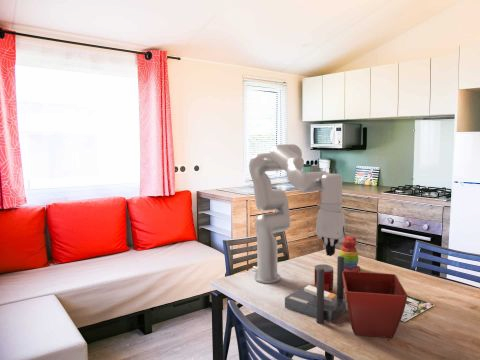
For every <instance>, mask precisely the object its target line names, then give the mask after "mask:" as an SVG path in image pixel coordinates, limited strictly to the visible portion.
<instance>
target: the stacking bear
mask: <svg viewBox="0 0 480 360" xmlns="http://www.w3.org/2000/svg"><path fill="white" fill-rule="evenodd" d="M344 238H345V241H344V242H341V243H342V247H341V249H340V251H339V254H338V256H342V257H344V271H352V272H361V267H360V265H358V264H359V253H358V250H357V247H356V244H357V238H356V236H351V235H348V236H347V235H345V236H344Z"/></svg>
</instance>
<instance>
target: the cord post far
mask: <svg viewBox="0 0 480 360" xmlns="http://www.w3.org/2000/svg"><path fill="white" fill-rule="evenodd" d="M336 266H337V268H336V269H337V270H336V271H337V272H336V295H337V298H341V299H344V297H345V291H344V285H343V277H342V272H343V271H344V257H342V256H339V255H338V256H337V263H336ZM344 300H345V299H344Z"/></svg>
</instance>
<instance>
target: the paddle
mask: <svg viewBox="0 0 480 360" xmlns="http://www.w3.org/2000/svg"><path fill="white" fill-rule="evenodd" d="M314 286H315V285H310V284H308V285H307V286H305V287H303V288H304V291H305V292H308V293H311V294H313V295H316V296H317V288H316V287H314ZM336 298H337V293H334V292H332V293H329V292H327V291H324V299H326V300H328V301H331V302H332V301H334V300H335V299H336Z"/></svg>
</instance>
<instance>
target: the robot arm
mask: <svg viewBox="0 0 480 360" xmlns="http://www.w3.org/2000/svg"><path fill="white" fill-rule="evenodd" d="M302 153H303V152H302V149H301V148H300V147H299V146H298V145H296V144H294V143H293V144H292V143H291V144H276V145H274V146H272V147H271V149H270V150H269V152H267V153H266V152H265V153H257V154H254V155H252V156H251V158H250V160H249V163H248V169H249V174H250V177H251V180H252V185H253V195H254V201H255V207H256V209H257V210H258V211H262V212H263V211H264V212H266V211H275V212H269V213H268V212H267V213H263V214H260V215H258V216H257V217H256V218H255V221H254V227H255V233H256V243H257V245H256V246H257V247H256V248H257V249H256V250H257V254H256V255H257V259H256V260H257V262H256V263H257V264H256V265H257V266H256V265H253V266H252V268H251V272H254V273H255V275H254V277H253V279H254V280H255V281H256V282H259V283H262V284H274V283H277V282H279V281H280V280H282V279H281V278H282V277H281V275H280V274H279V273H278V241H277V239H276V238H275V237H276V236H274V234H276V233H281V232H285V231H288V230H289V229H290V227H291V214H290V213H291V212H290V206H289V199H288V196H287V194H286V193H285V191H283V190H282V189H273V187H272V180H271V179H270V177H269V175H268V174H267V173H266V172H277V171H283V170H284V171H285V172H286V176H287V179H288V183H290V184H291V186H293V187H294V188H295V189H297V190H298V191H300V192H301V193H302V192H303V193H313V192H320V202H318V203H317V206H318V207H320V209H318V211H317V217H316V224H315V234H316V236H317V238H318V239H320V240H322V241H323V243H324V245H325V253H326V256H329V257H332V256H333V255H335V253H336V245H337V244H338V243H342V242H344V241H345V238H344V236H346V219H345V213H344V211H343V209H342V208H343V204H342V203H343V201H342V200H343V176H342V175H341V174H339V173H331V172H327V171H309V172H308V171H307V172H304V171H303V168H304V165H305V161H304V159H303V157H302V156H303V154H302Z"/></svg>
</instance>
